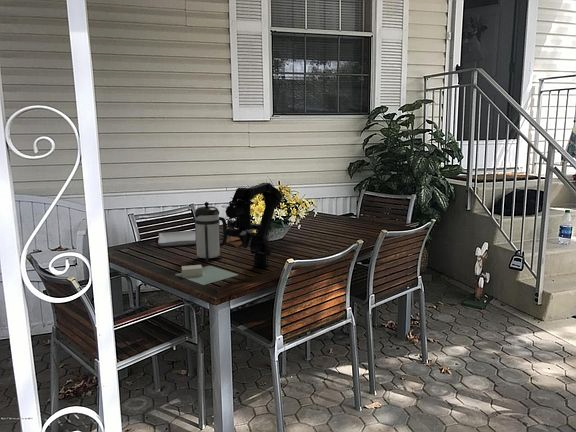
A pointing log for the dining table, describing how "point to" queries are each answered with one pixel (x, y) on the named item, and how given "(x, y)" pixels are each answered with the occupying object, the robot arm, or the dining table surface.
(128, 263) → the dining table surface
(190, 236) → the square plate
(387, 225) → the dining table surface
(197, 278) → the rubber mat
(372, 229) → the dining table surface
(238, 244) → the sunglasses case
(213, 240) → the coffee press
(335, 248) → the dining table surface
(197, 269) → the card box
